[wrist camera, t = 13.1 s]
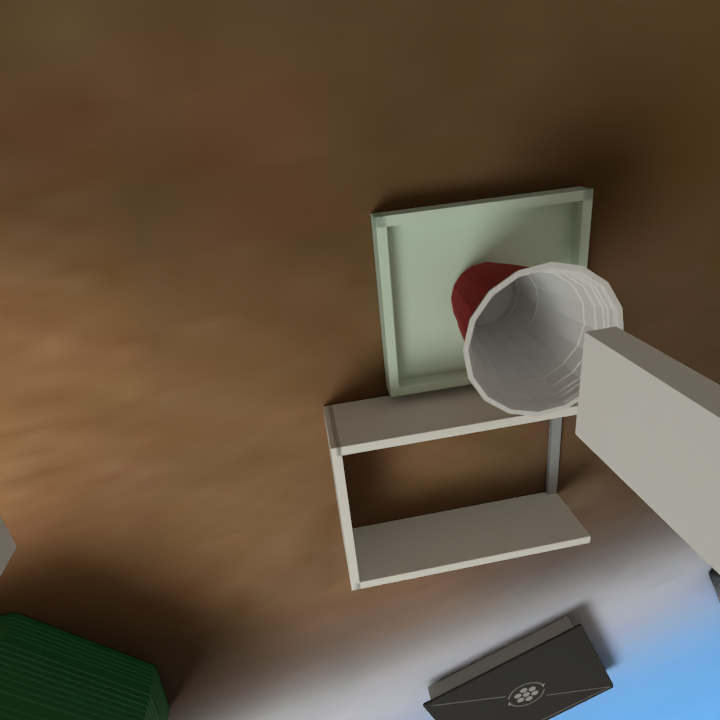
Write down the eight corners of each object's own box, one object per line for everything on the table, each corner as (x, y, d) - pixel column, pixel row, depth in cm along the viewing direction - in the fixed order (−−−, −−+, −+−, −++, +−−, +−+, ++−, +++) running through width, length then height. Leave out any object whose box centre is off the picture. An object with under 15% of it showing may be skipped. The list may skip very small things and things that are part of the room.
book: (462, 736, 72) (469, 760, 70) (416, 682, 66) (422, 706, 63) (601, 666, 71) (615, 687, 68) (568, 604, 64) (581, 625, 62)
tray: (386, 387, 47) (390, 397, 46) (370, 213, 41) (375, 217, 39) (567, 357, 49) (578, 366, 47) (579, 186, 43) (593, 188, 41)
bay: (342, 536, 54) (352, 590, 47) (323, 406, 47) (330, 448, 41) (554, 496, 56) (589, 542, 50) (562, 366, 49) (605, 401, 43)
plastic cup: (449, 211, 41) (512, 240, 30) (561, 253, 44) (655, 292, 33) (400, 333, 45) (441, 398, 34) (507, 364, 48) (575, 433, 37)
